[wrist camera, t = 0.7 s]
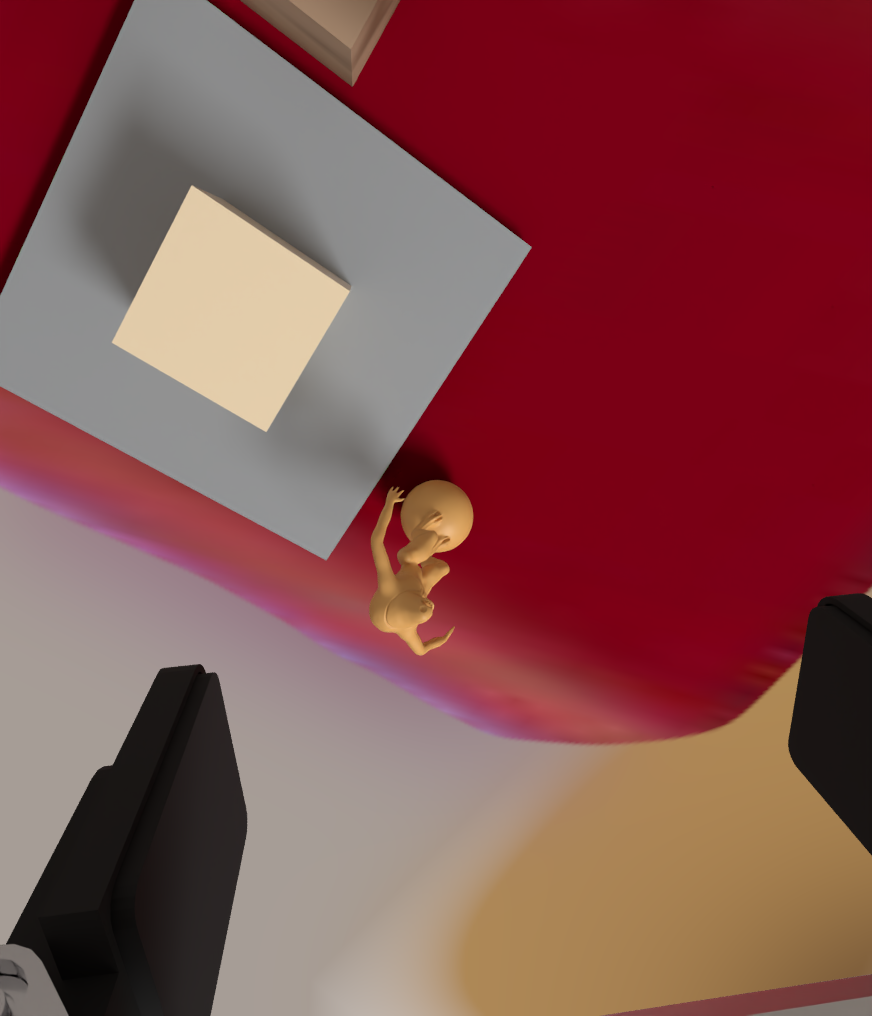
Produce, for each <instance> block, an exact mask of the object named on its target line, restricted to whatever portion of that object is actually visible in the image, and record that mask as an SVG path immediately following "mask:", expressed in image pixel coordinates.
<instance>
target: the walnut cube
mask: <svg viewBox="0 0 872 1016" xmlns="http://www.w3.org/2000/svg"><path fill="white" fill-rule="evenodd" d="M241 1H242V2H243V3H244V4H246V5H247V6H248V7H250V8H251V9H252V10H253V11H255V12H256V13H257V14H259V15H260V16H261V17H263V18H264V19H265V20H266V21H268V22H269V23H270V24H272V25H273V26H274V27H276V28H277V29H278V30H279V31H281V32H282V33H283V34H285V35H286V36H287V37H288V38H290V39H291V40H292V41H294V42H295V43H296V44H298V45H299V46H300V47H301V48H303V49H304V50H305V51H307V52H308V53H309V54H311V55H312V56H313V57H314V58H316V59H317V60H318V61H320V62H321V63H322V64H323V65H325V66H326V67H327V68H329V69H330V70H331V71H333V72H334V73H335V74H336V75H338V76H339V77H340V78H342V79H343V80H344V81H346V82H347V83H348V84H349V85H351V86H352V87H353V85H354V83H355V81H356V80H357V78H358V76H359V74H360V72H361V70H362V69H363V67H364V65H365V63H366V61H367V60H368V58H369V56H370V54H371V52H372V50H373V49H374V47H375V45H376V43H377V41H378V40H379V38H380V36H381V34H382V32H383V30H384V29H385V27H386V25H387V23H388V21H389V20H390V18H391V16H392V14H393V12H394V10H395V9H396V7H397V5H398V3H399V1H400V0H241Z"/></svg>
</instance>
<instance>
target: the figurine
mask: <svg viewBox="0 0 872 1016" xmlns="http://www.w3.org/2000/svg"><path fill="white" fill-rule="evenodd" d="M398 489H399V487H397V488H396V489H395V490H394V491H392V490H393V487H392V488H391V489H390V491H389V492H388V495H387V498H386V504H385V506H384V508H383V510H382V512H381V515H380V517H379V520H378V523H377V525H376V527H375V529H374V531H373V534H372V537H371V547H372V552H373V557H374V561H375V566H376V569H377V574H378V589H377V591H376V592H375V594H374V596H373V597H372V600H371V602H370V607H369V614H370V619H371V621H372V623H373V624H374V625H375V626H376V627H377V628H378V629H379V630H381V631H383V632H395V633H397V634H398V635H399V636H400V637H401V638H402V639H403V640H405V641H406V642H407V644H408V645H409V647H410V648H411V649H412V650H413V651H414V653H415V654H417V655H424V654H425V653H427V652H428V651H429V650H431V649H434V648H437V647H439V646H441V645H442V644H443V643H445V642H446V641H447V639H448V638H449V636H450V635H451V633H452V631H453V629H454V626H453V628H451V629H450V630H449V632H447V633H446V635H445V636H443V637H436V638H433V639H431V640H429V641H427V642H424V643H422V641H421V639H420V637H419V635H418V633H417V632H416V628H417V625H418V624H420V623H424V622H426V621H427V620H428V619H429V618H430V617H431V616H432V610H433V609H434V604H433V602H432V601H430V600H429V599H427V598H426V597H427V595H428V593H429V592H430V590H431V588H432V587H433V586H434V585H435V584H436V583H437V582H438V581H439V580H440V579H441V578H442V577H443V576H444V575H446V574H448V572H449V566H448V564H447V563H446V562H444V561H442V560H439V559H436V558H434V557H431V556H432V554H433V553H434V552H444V551H448V550H451V549H453V548H455V547H457V546H458V545H459V544H461V543H462V542H463V541H464V540H465V538H466V537H467V535H468V534H469V532H470V530H471V527H472V523H473V510H472V506H471V503H470V500H469V499H468V497H467V495H466V494H465V493H464V492H463V491H462V490H461V489H460V488H459V487H458V486H456V485H454V484H452V483H450V482H447V481H443V480H431V481H427V482H424V483H422V484H420V485H418V486H416V487H415V488H414V489H413V490H412V491H411V492H410V493H409V494H408V495H407V497H406V499H405V500H404V498H402V499H400V498H398V497H399V496H400V495H401V494H402V493H403V492H404V490H402V491H400V492H399V493H397V490H398ZM403 500H404V503H403V506H402V510H401V523H402V527H403V530H404V532H405V534H406V535H407V537H408V538H409V540H410V541H411V542H410V543H409V544H408V545H407V546H406V547H404V548H402V549H401V550H399V552H398V554H397V558H398V561H399V563H400V564H401V570H400V571H399V572H398V573H397V574H396V575H394V573H393V571H392V569H391V565H390V561H389V558H388V555H387V553H386V550H385V547H384V545H383V539H384V536H385V532H386V528H387V526H388V524H389V521H390V518H391V515H392V510H393V505H394V503H395V502H401V501H403ZM419 563H421V566H422V567H423V568H422V569H421V568H420V567H419V566H417V564H419Z"/></svg>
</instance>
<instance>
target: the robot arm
mask: <svg viewBox="0 0 872 1016" xmlns="http://www.w3.org/2000/svg"><path fill="white" fill-rule="evenodd" d="M788 747H789V752H790V755H791V758H792V760H793V762H794V764H795V765H796V767H797V768H798V769H799V770H800V771H801V773H802V774H803V775H804V776H805V777H806V779H807V780H808V781H809V782H810V783H811V784H812V786H813V787H814V788H815V789H816V790H817V792H818V793H819V794H820V795H821V796H822V797H823V798H824V799H825V801H826V802H827V803H828V804H829V805H830V807H831V808H832V809H833V810H834V812H835V813H836V814H837V815H838V816H839V817H840V819H841V820H842V821H843V822H844V823H845V824H846V825H847V827H848V828H849V829H850V830H851V832H852V833H853V834H854V835H855V836H856V837H857V838H858V840H859V841H860V842H861V843H862V844H863V846H864V847H865V848H866V849H867V850H868V851H869V853H870V854H871V855H872V598H871V597H869V596H867V595H865V594H858V593H857V594H848V595H839V596H829V597H825V598H823V599H821V601H820V602H819V603H818V606H817V607H815V608H813V609H812V610H811V612H810V614H809V618H808V624H807V631H806V637H805V643H804V649H803V655H802V661H801V667H800V673H799V679H798V685H797V692H796V698H795V704H794V710H793V717H792V722H791V728H790V734H789V740H788ZM246 834H247V811H246V805H245V801H244V796H243V791H242V787H241V782H240V777H239V772H238V767H237V763H236V758H235V753H234V748H233V744H232V739H231V734H230V729H229V725H228V720H227V715H226V711H225V706H224V701H223V696H222V692H221V687H220V682H219V678H218V676H217V674H216V673H206V672H205V670H204V667H203V666H202V665H201V664H198V665H189V666H178V667H169V668H163V669H160V671H159V672H158V674H157V676H156V678H155V680H154V682H153V684H152V686H151V688H150V690H149V692H148V694H147V696H146V698H145V701H144V702H143V704H142V706H141V709H140V711H139V713H138V715H137V717H136V719H135V721H134V723H133V725H132V727H131V729H130V731H129V733H128V735H127V737H126V739H125V741H124V743H123V745H122V747H121V750H120V751H119V753H118V755H117V758H116V760H115V762H114V764H113V765H111V766H104V767H102V768H100V769H99V770H97V772H96V773H95V775H94V776H93V778H92V779H91V781H90V783H89V785H88V787H87V789H86V791H85V793H84V795H83V796H82V798H81V800H80V802H79V804H78V806H77V808H76V810H75V812H74V814H73V816H72V818H71V820H70V822H69V824H68V825H67V827H66V830H65V831H64V833H63V835H62V837H61V839H60V841H59V843H58V845H57V847H56V849H55V851H54V853H53V854H52V856H51V859H50V860H49V862H48V864H47V866H46V868H45V870H44V872H43V874H42V876H41V878H40V880H39V882H38V884H37V885H36V887H35V889H34V891H33V893H32V895H31V897H30V899H29V901H28V903H27V905H26V907H25V909H24V910H23V913H22V914H21V916H20V918H19V920H18V922H17V924H16V926H15V928H14V930H13V932H12V934H11V936H10V938H9V939H8V941H7V943H6V945H0V1016H210V1015H211V1010H212V1005H213V1000H214V995H215V990H216V985H217V980H218V975H219V970H220V965H221V960H222V955H223V950H224V944H225V940H226V935H227V930H228V925H229V920H230V915H231V910H232V904H233V900H234V895H235V890H236V885H237V880H238V875H239V870H240V865H241V860H242V855H243V850H244V845H245V840H246ZM603 1016H872V974H871V975H864V976H857V977H851V978H844V979H838V980H831V981H824V982H817V983H812V984H804V985H798V986H792V987H785V988H778V989H772V990H765V991H758V992H752V993H745V994H739V995H732V996H726V997H719V998H713V999H706V1000H700V1001H693V1002H687V1003H680V1004H674V1005H668V1006H661V1007H655V1008H649V1009H642V1010H635V1011H629V1012H622V1013H616V1014H610V1015H603Z"/></svg>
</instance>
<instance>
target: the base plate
mask: <svg viewBox="0 0 872 1016" xmlns="http://www.w3.org/2000/svg"><path fill="white" fill-rule="evenodd" d="M531 248H532V247H531V246H529V245H528V244H527V243H525V242H524V241H523V240H522V239H520V238H519V237H518V236H516V235H515V234H514V233H512V232H511V231H510V230H508V229H507V228H506V227H504V226H503V225H502V224H500V223H499V222H498V221H497V220H495V219H494V218H493V217H491V216H490V215H489V214H487V213H486V212H485V211H483V210H482V209H481V208H479V207H478V206H477V205H475V204H474V203H473V202H472V201H470V200H469V199H468V198H466V197H465V196H464V195H462V194H461V193H460V192H458V191H457V190H456V189H454V188H453V187H452V186H450V185H449V184H448V183H446V182H445V181H444V180H443V179H441V178H440V177H439V176H437V175H436V174H435V173H433V172H432V171H431V170H429V169H428V168H427V167H425V166H424V165H423V164H421V163H420V162H419V161H418V160H416V159H415V158H414V157H412V156H411V155H410V154H408V153H407V152H406V151H404V150H403V149H402V148H400V147H399V146H398V145H396V144H395V143H394V142H393V141H391V140H390V139H389V138H387V137H386V136H385V135H383V134H382V133H381V132H379V131H378V130H377V129H375V128H374V127H373V126H371V125H370V124H369V123H367V122H366V121H365V120H364V119H362V118H361V117H360V116H358V115H357V114H356V113H354V112H353V111H352V110H350V109H349V108H348V107H346V106H345V105H344V104H342V103H341V102H340V101H339V100H337V99H336V98H335V97H333V96H332V95H331V94H329V93H328V92H327V91H325V90H324V89H323V88H321V87H320V86H319V85H317V84H316V83H315V82H314V81H312V80H311V79H310V78H308V77H307V76H306V75H304V74H303V73H302V72H300V71H299V70H298V69H296V68H295V67H294V66H292V65H291V64H290V63H289V62H287V61H286V60H285V59H283V58H282V57H281V56H279V55H278V54H277V53H275V52H274V51H273V50H271V49H270V48H269V47H267V46H266V45H265V44H263V43H262V42H261V41H260V40H258V39H257V38H256V37H254V36H253V35H252V34H250V33H249V32H248V31H246V30H245V29H244V28H242V27H241V26H240V25H238V24H237V23H236V22H235V21H233V20H232V19H231V18H229V17H228V16H227V15H225V14H224V13H223V12H221V11H220V10H219V9H217V8H216V7H215V6H213V5H212V4H211V3H210V2H208V1H207V0H134V2H133V5H132V7H131V9H130V11H129V13H128V16H127V18H126V20H125V22H124V24H123V27H122V29H121V31H120V33H119V35H118V38H117V40H116V42H115V44H114V46H113V49H112V51H111V53H110V55H109V57H108V60H107V62H106V64H105V66H104V68H103V71H102V73H101V75H100V77H99V79H98V82H97V84H96V86H95V88H94V90H93V93H92V95H91V97H90V99H89V102H88V104H87V106H86V108H85V110H84V113H83V115H82V117H81V119H80V121H79V124H78V126H77V128H76V130H75V132H74V135H73V137H72V139H71V141H70V143H69V146H68V148H67V150H66V152H65V154H64V157H63V159H62V161H61V163H60V165H59V168H58V170H57V172H56V174H55V176H54V179H53V181H52V183H51V185H50V187H49V190H48V192H47V194H46V196H45V198H44V201H43V203H42V205H41V207H40V209H39V212H38V214H37V216H36V218H35V220H34V223H33V225H32V227H31V229H30V232H29V234H28V236H27V238H26V240H25V243H24V245H23V247H22V249H21V251H20V254H19V256H18V258H17V260H16V262H15V265H14V267H13V269H12V271H11V273H10V276H9V278H8V280H7V282H6V284H5V287H4V289H3V291H2V293H1V295H0V386H1V387H3V388H5V389H7V390H8V391H10V392H12V393H14V394H16V395H18V396H20V397H22V398H23V399H25V400H27V401H29V402H31V403H33V404H35V405H37V406H38V407H40V408H42V409H44V410H46V411H48V412H50V413H52V414H53V415H55V416H57V417H59V418H61V419H63V420H65V421H66V422H68V423H70V424H72V425H74V426H76V427H78V428H80V429H81V430H83V431H85V432H87V433H89V434H91V435H93V436H95V437H96V438H98V439H100V440H102V441H104V442H106V443H108V444H110V445H111V446H113V447H115V448H117V449H119V450H121V451H123V452H125V453H126V454H128V455H130V456H132V457H134V458H136V459H138V460H140V461H141V462H143V463H145V464H147V465H149V466H151V467H153V468H154V469H156V470H158V471H160V472H162V473H164V474H166V475H168V476H169V477H171V478H173V479H175V480H177V481H179V482H181V483H183V484H184V485H186V486H188V487H190V488H192V489H194V490H196V491H198V492H199V493H201V494H203V495H205V496H207V497H209V498H211V499H213V500H214V501H216V502H218V503H220V504H222V505H224V506H226V507H227V508H229V509H231V510H233V511H235V512H237V513H239V514H241V515H242V516H244V517H246V518H248V519H250V520H252V521H254V522H256V523H257V524H259V525H261V526H263V527H265V528H267V529H269V530H271V531H272V532H274V533H276V534H278V535H280V536H282V537H284V538H286V539H287V540H289V541H291V542H293V543H295V544H297V545H299V546H301V547H302V548H304V549H306V550H308V551H310V552H312V553H314V554H315V555H317V556H319V557H321V558H323V559H325V560H327V559H328V557H329V555H330V554H331V552H332V551H333V549H334V548H335V546H336V545H337V543H338V542H339V540H340V539H341V537H342V536H343V534H344V533H345V531H346V530H347V528H348V527H349V525H350V523H351V522H352V520H353V519H354V517H355V516H356V514H357V513H358V511H359V510H360V508H361V507H362V505H363V504H364V502H365V501H366V499H367V498H368V496H369V495H370V493H371V491H372V490H373V488H374V487H375V485H376V484H377V482H378V481H379V479H380V478H381V476H382V475H383V473H384V472H385V470H386V469H387V467H388V466H389V464H390V463H391V461H392V459H393V458H394V456H395V455H396V453H397V452H398V450H399V449H400V447H401V446H402V444H403V443H404V441H405V440H406V438H407V437H408V435H409V434H410V432H411V431H412V429H413V427H414V426H415V424H416V423H417V421H418V420H419V418H420V417H421V415H422V414H423V412H424V411H425V409H426V408H427V406H428V405H429V403H430V402H431V400H432V398H433V397H434V395H435V394H436V392H437V391H438V389H439V388H440V386H441V385H442V383H443V382H444V380H445V379H446V377H447V376H448V374H449V373H450V371H451V370H452V368H453V366H454V365H455V363H456V362H457V360H458V359H459V357H460V356H461V354H462V353H463V351H464V350H465V348H466V347H467V345H468V344H469V342H470V341H471V339H472V338H473V336H474V334H475V333H476V331H477V330H478V328H479V327H480V325H481V324H482V322H483V321H484V319H485V318H486V316H487V315H488V313H489V312H490V310H491V309H492V307H493V306H494V304H495V302H496V301H497V299H498V298H499V296H500V295H501V293H502V292H503V290H504V289H505V287H506V286H507V284H508V283H509V281H510V280H511V278H512V277H513V275H514V274H515V272H516V270H517V269H518V267H519V266H520V264H521V263H522V261H523V260H524V258H525V257H526V255H527V254H528V252H529V251H530V249H531Z"/></svg>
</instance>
